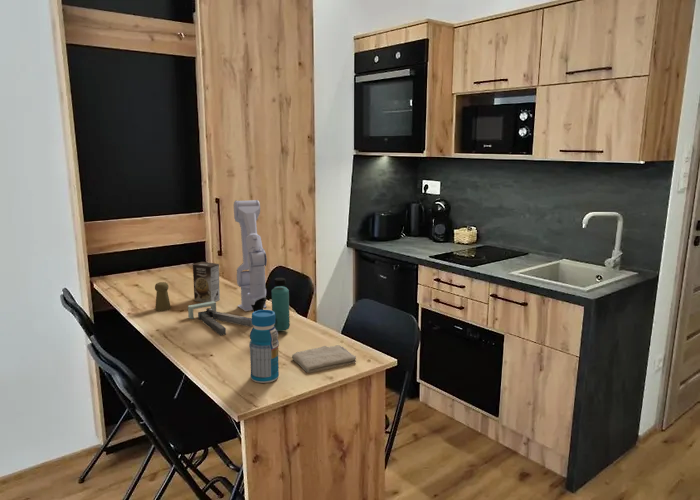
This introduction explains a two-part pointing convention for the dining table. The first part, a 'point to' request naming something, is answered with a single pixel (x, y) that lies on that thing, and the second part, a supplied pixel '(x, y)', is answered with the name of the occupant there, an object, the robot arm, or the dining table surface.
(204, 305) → the pale green notched block
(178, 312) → the dining table surface
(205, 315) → the tong base
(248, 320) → the tong arm
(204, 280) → the coffee box
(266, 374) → the beverage bottle
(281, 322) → the beverage bottle
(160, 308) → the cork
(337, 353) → the washcloth
